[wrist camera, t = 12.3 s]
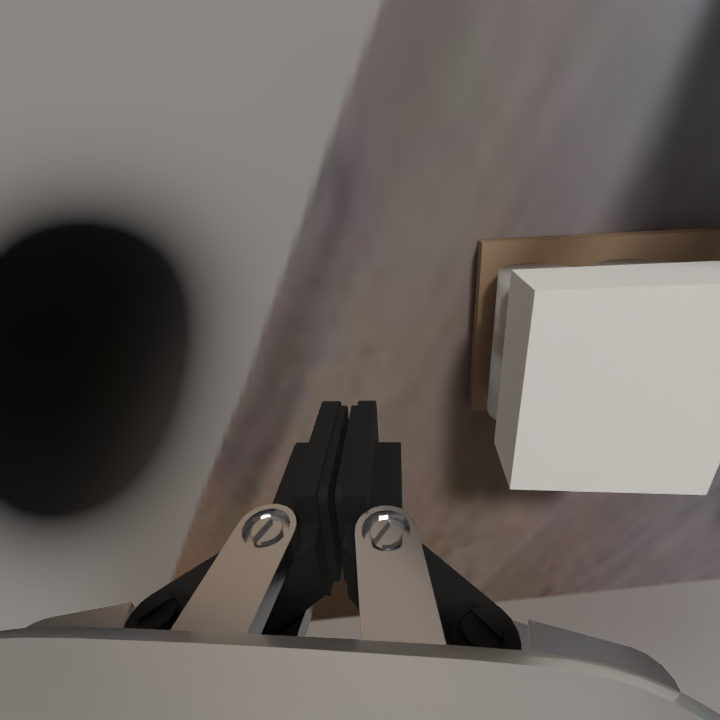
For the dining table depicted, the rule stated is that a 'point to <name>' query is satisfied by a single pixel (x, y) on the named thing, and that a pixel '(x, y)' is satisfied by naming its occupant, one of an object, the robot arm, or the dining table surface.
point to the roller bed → (570, 258)
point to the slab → (611, 379)
